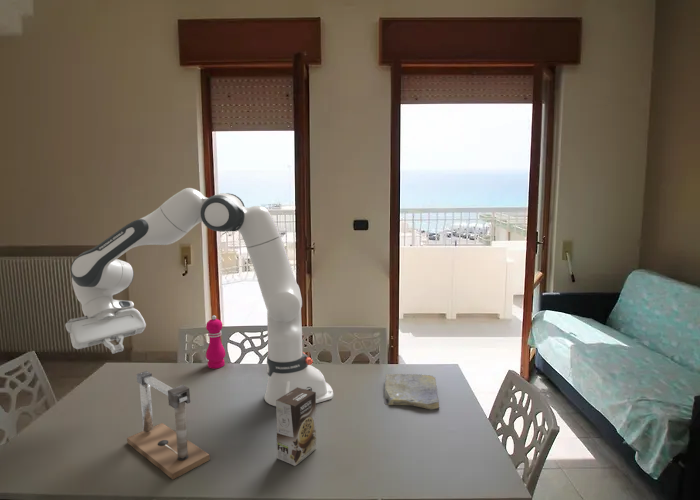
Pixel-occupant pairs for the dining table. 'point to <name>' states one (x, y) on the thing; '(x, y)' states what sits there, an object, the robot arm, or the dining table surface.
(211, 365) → the pepper mill
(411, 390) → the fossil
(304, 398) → the coffee box
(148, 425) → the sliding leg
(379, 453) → the dining table surface
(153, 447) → the wood and metal stand
